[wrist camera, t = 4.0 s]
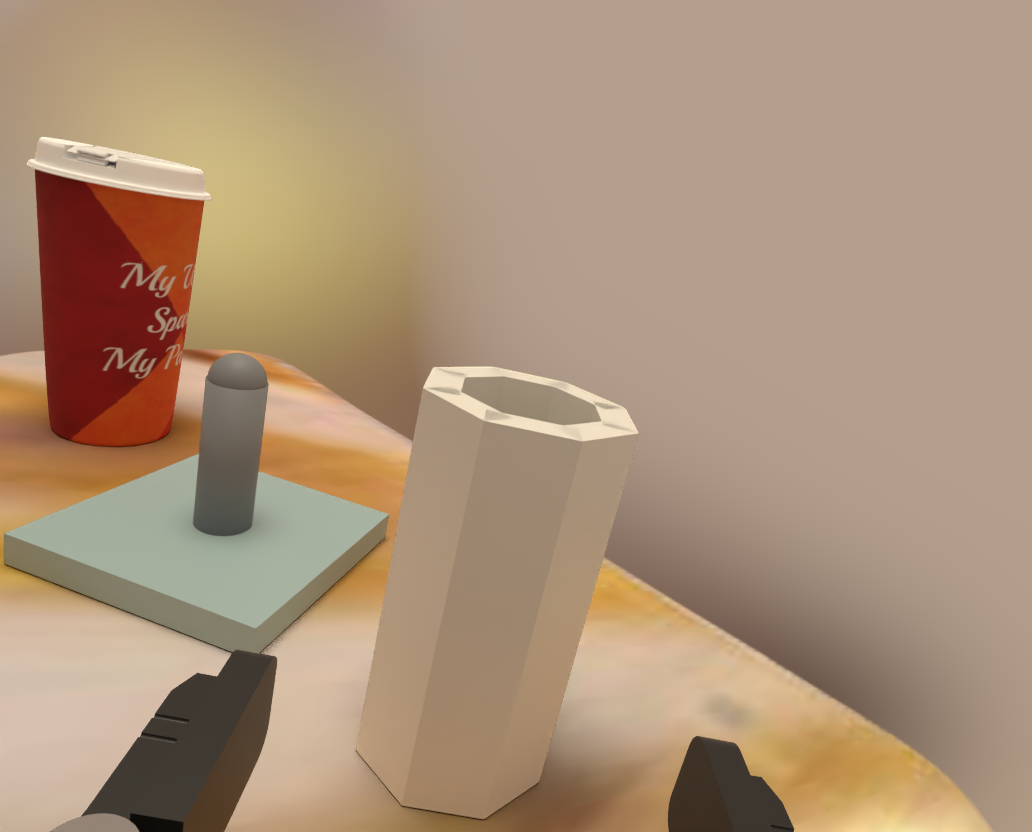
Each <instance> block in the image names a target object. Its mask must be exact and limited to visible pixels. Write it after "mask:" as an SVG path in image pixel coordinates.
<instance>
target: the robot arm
mask: <svg viewBox="0 0 1032 832" xmlns="http://www.w3.org/2000/svg"><path fill="white" fill-rule="evenodd" d="M276 668H277V658H276V657H275V656H270V655H264V654H259V653H253V652H248V651H243V650H235V651H234V652H233V653H232V654H231V656H230V658H229V659H228V661H227V662H226V664H225V665H224V667H223V668H222V670H221V672H220V673H219V675H218V676H217V677H216V676H211V675H206V674H200V673H197V674H195V675H194V676H192V677H191V678H189V679H188V680H186V681H185V682H183V683H182V684H180V685H179V686H178V687H176V688H175V689H173V690H172V691H171V692H170V693H169V695H168V696H167V698H166V699H165V700H164V702H163V703H162V705H161V706H160V707H159V709H158V710H157V712H156V713H155V716H154V718H152V719H151V720H150V722H149V723H148V724H147V726H146V727H145V729H144V730H143V731H142V734H141V736H140V738H139V737H138V738H137V740H136V741H135V743H134V744H133V745H132V747H131V748H130V750H129V751H128V752H127V754H126V755H125V757H124V758H123V759H122V761H121V762H120V764H119V765H118V766H117V768H116V769H115V771H114V772H113V773H112V775H111V776H110V778H109V779H108V780H107V782H106V783H105V785H104V786H103V787H102V789H101V790H100V792H99V793H98V794H97V796H96V797H95V799H94V800H93V801H92V803H91V804H90V806H89V807H88V808H87V810H86V811H85V812H84V813H83V815H82V816H81V817H78V818H75V819H73V820H70V821H67V822H66V823H64V824H62V825H60V826H58V827H56V828H55V829H53V830H52V831H50V832H224V831H225V829H226V827H227V824H228V822H229V820H230V818H231V816H232V814H233V812H234V810H235V807H236V805H237V803H238V801H239V799H240V797H241V795H242V792H243V790H244V788H245V786H246V784H247V782H248V780H249V778H250V775H251V773H252V771H253V769H254V767H255V765H256V763H257V760H258V758H259V756H260V753H261V750H262V747H263V744H264V741H265V737H266V734H267V730H268V725H269V718H270V711H271V704H272V697H273V689H274V682H275V675H276ZM668 828H669V832H794V828H793V825H792V823H791V821H790V819H789V816H788V814H787V812H786V810H785V807H784V805H783V803H782V801H781V800H780V799H779V798H778V797H777V795H776V794H775V793H774V792H773V791H772V789H771V788H770V787H769V786H768V785H767V783H766V782H765V781H764V780H763V779H762V777H757V776H751V775H750V773H749V771H748V768H747V766H746V764H745V761H744V759H743V756H742V754H741V751H740V749H739V747H738V746H737V745H736V744H735V743H732V742H727V741H721V740H716V739H710V738H705V737H700V736H696V737H694V738H693V739H692V741H691V743H690V745H689V748H688V751H687V754H686V756H685V759H684V762H683V764H682V767H681V770H680V773H679V775H678V778H677V781H676V784H675V786H674V789H673V792H672V795H671V798H670V802H669V810H668Z"/></svg>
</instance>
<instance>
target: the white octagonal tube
mask: <svg viewBox="0 0 1032 832" xmlns="http://www.w3.org/2000/svg"><path fill="white" fill-rule="evenodd" d="M416 424H417V425H416V429H415V434H414V440H413V445H412V450H411V455H410V461H409V466H408V472H407V477H406V482H405V488H404V493H403V499H402V504H401V510H400V515H399V520H398V526H397V531H396V537H395V542H394V547H393V553H392V558H391V564H390V569H389V574H388V580H387V585H386V591H385V596H384V601H383V607H382V612H381V618H380V623H379V628H378V634H377V639H376V645H375V650H374V656H373V661H372V666H371V672H370V677H369V683H368V688H367V693H366V699H365V704H364V710H363V715H362V720H361V726H360V731H359V737H358V742H357V747H356V751H357V752H358V753H359V754H360V755H361V757H362V758H363V759H364V760H365V762H366V763H367V764H368V765H369V766H370V768H371V769H372V770H373V771H374V772H375V774H376V775H377V776H378V777H379V779H380V780H381V781H382V782H383V783H384V785H385V786H386V787H387V788H388V789H389V791H390V792H391V793H392V794H393V796H394V797H395V798H396V799H397V800H398V802H399V803H400V804H401V805H402V806H408V807H414V808H419V809H425V810H431V811H437V812H443V813H449V814H455V815H461V816H467V817H473V818H479V819H485V818H487V817H488V816H489V815H491V814H492V813H494V812H495V811H497V810H498V809H500V808H501V807H503V806H504V805H506V804H507V803H509V802H510V801H512V800H513V799H515V798H516V797H518V796H519V795H520V794H522V793H523V792H525V791H526V790H528V789H529V788H531V787H532V786H534V785H535V784H537V783H538V782H539V781H540V777H541V774H542V770H543V767H544V763H545V760H546V756H547V753H548V749H549V746H550V742H551V739H552V735H553V732H554V728H555V725H556V721H557V718H558V714H559V711H560V707H561V704H562V700H563V697H564V693H565V690H566V686H567V683H568V679H569V676H570V672H571V669H572V665H573V662H574V658H575V655H576V651H577V648H578V644H579V641H580V637H581V634H582V630H583V627H584V623H585V620H586V617H587V613H588V610H589V606H590V603H591V599H592V596H593V592H594V589H595V585H596V582H597V578H598V575H599V571H600V568H601V564H602V561H603V557H604V553H605V550H606V547H607V543H608V540H609V536H610V533H611V529H612V526H613V522H614V518H615V515H616V512H617V508H618V505H619V501H620V497H621V494H622V491H623V487H624V484H625V480H626V477H627V473H628V470H629V466H630V462H631V459H632V456H633V452H634V449H635V445H636V442H637V438H638V435H639V432H638V431H637V429H636V427H635V425H634V423H633V422H632V420H631V418H630V416H629V415H628V413H627V411H626V409H625V408H624V407H622V406H620V405H617V404H615V403H613V402H610V401H608V400H606V399H603V398H600V397H598V396H596V395H594V394H592V393H589V392H587V391H585V390H582V389H580V388H578V387H576V386H573V385H571V384H569V383H566V382H563V381H558V380H553V379H549V378H544V377H539V376H535V375H530V374H525V373H520V372H516V371H511V370H506V369H502V368H497V367H492V366H491V367H434V368H433V369H432V371H431V373H430V375H429V377H428V379H427V381H426V383H425V385H424V387H423V391H422V396H421V401H420V407H419V412H418V418H417V423H416Z"/></svg>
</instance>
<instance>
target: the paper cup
mask: <svg viewBox="0 0 1032 832" xmlns="http://www.w3.org/2000/svg"><path fill="white" fill-rule="evenodd" d="M26 165H27V166H28V167H30V168H33V169H35V179H36V198H37V218H38V237H39V256H40V275H41V295H42V313H43V331H44V348H45V349H44V350H45V366H46V382H47V397H48V409H49V419H50V425H51V429H52V431H53V432H54V433H55V434H57V435H58V436H60V437H62V438H65V439H67V440H70V441H73V442H77V443H82V444H88V445H96V446H133V445H140V444H146V443H150V442H154V441H156V440H159V439H161V438H163V437H165V436H166V435H167V434H168V433H169V430H170V427H171V423H172V418H173V412H174V406H175V400H176V394H177V387H178V381H179V374H180V367H181V361H182V354H183V347H184V339H185V333H186V326H187V319H188V312H189V305H190V298H191V291H192V284H193V276H194V269H195V263H196V255H197V248H198V241H199V234H200V227H201V220H202V212H203V206H204V201H208V200H211V197H210V194H209V193H207V192H205V180H204V174H203V172H202V170H200V169H197V168H194V167H190V166H187V165H183V164H179V163H175V162H171V161H166V160H162V159H157V158H153V157H148V156H144V155H139V154H134V153H130V152H125V151H120V150H115V149H110V148H105V147H100V146H95V145H89V144H84V143H78V142H73V141H67V140H61V139H55V138H48V137H41V138H40V139H39V140H38V144H37V149H36V155H35V159H30V160H28V163H27V164H26Z"/></svg>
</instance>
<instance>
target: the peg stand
mask: <svg viewBox="0 0 1032 832" xmlns="http://www.w3.org/2000/svg"><path fill="white" fill-rule="evenodd" d="M267 393H268V382H267V375H266V372H265V370H264V368H263V366H262V365H261V364H260V363H259V362H258V361H257V360H256V359H255V358H253V357H251V356H249V355H246V354H242V353H231V354H227V355H224V356H222V357H220V358H219V359H218V360H216V361H215V362H214V363H213V365H212V366H211V368H210V370H209V372H208V375H207V376H206V380H205V392H204V403H203V414H202V426H201V437H200V448H199V454H197V455H194V456H192V457H190V458H187V459H185V460H182V461H180V462H177V463H175V464H172V465H170V466H168V467H165V468H163V469H160V470H158V471H155V472H153V473H150V474H148V475H145V476H143V477H141V478H138V479H136V480H133V481H131V482H128V483H126V484H123V485H121V486H119V487H116V488H114V489H111V490H109V491H106V492H104V493H101V494H99V495H97V496H94V497H92V498H89V499H87V500H84V501H82V502H79V503H77V504H75V505H72V506H70V507H67V508H65V509H62V510H60V511H57V512H55V513H53V514H50V515H48V516H45V517H43V518H40V519H38V520H35V521H33V522H31V523H28V524H26V525H23V526H21V527H18V528H16V529H13V530H11V531H8V532H6V533H4V564H7V565H9V566H12V567H14V568H17V569H19V570H22V571H25V572H27V573H30V574H32V575H35V576H37V577H40V578H43V579H45V580H48V581H50V582H53V583H56V584H58V585H61V586H63V587H66V588H68V589H71V590H74V591H76V592H79V593H81V594H84V595H86V596H89V597H92V598H94V599H97V600H99V601H102V602H104V603H107V604H110V605H112V606H115V607H117V608H120V609H122V610H125V611H128V612H130V613H133V614H135V615H138V616H140V617H143V618H146V619H148V620H151V621H153V622H156V623H159V624H161V625H164V626H166V627H169V628H171V629H174V630H177V631H179V632H182V633H184V634H187V635H189V636H192V637H195V638H197V639H200V640H202V641H205V642H207V643H210V644H213V645H215V646H218V647H220V648H223V649H225V650H228V651H231V652H234V651H235V650H243V651H248V652H253V653H260V652H261V651H262V650H263V649H264V648H265V647H266V646H268V645H269V644H270V643H271V642H272V641H273V640H274V639H275V638H276V637H277V636H278V635H279V634H281V633H282V632H283V631H284V630H285V629H286V628H287V627H288V626H289V625H290V624H291V623H293V622H294V621H295V620H296V619H297V618H298V617H299V616H300V615H301V614H302V613H303V612H304V611H306V610H307V609H308V608H309V607H310V606H311V605H312V604H313V603H314V602H315V601H316V600H318V599H319V598H320V597H321V596H322V595H323V594H324V593H325V592H326V591H327V590H328V589H329V588H331V587H332V586H333V585H334V584H335V583H336V582H337V581H338V580H339V579H340V578H341V577H343V576H344V575H345V574H346V573H347V572H348V571H349V570H350V569H351V568H352V567H353V566H354V565H356V564H357V563H358V562H359V561H360V560H361V559H362V558H363V557H364V556H365V555H366V554H367V553H369V552H370V551H371V550H372V549H373V548H374V547H375V546H376V545H377V544H378V543H379V542H381V541H382V540H383V539H384V538H385V534H386V529H387V523H388V518H389V514H387V513H384V512H381V511H378V510H375V509H371V508H368V507H365V506H362V505H359V504H356V503H353V502H350V501H347V500H344V499H341V498H338V497H335V496H332V495H329V494H326V493H323V492H320V491H317V490H314V489H311V488H308V487H305V486H302V485H299V484H296V483H292V482H289V481H286V480H283V479H280V478H277V477H274V476H271V475H268V474H265V473H262V472H259V471H258V470H259V462H260V453H261V445H262V436H263V427H264V419H265V410H266V402H267Z"/></svg>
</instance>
